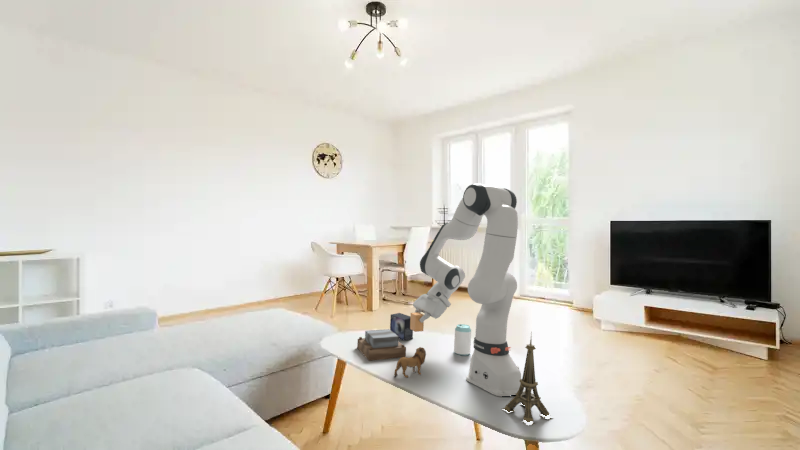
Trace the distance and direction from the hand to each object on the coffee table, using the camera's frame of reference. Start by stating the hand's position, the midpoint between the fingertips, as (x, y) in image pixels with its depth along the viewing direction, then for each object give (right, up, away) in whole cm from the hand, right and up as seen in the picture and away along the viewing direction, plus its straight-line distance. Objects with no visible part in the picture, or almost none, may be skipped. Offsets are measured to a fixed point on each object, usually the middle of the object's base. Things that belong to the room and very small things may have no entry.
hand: (416, 319), depth 167 cm
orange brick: (0, -4, 0) cm, 4 cm away
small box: (-7, -13, +20) cm, 25 cm away
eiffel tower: (+31, -16, -51) cm, 62 cm away
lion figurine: (-4, -14, -25) cm, 29 cm away
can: (+20, -15, +1) cm, 25 cm away
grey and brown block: (-15, -13, -4) cm, 20 cm away
